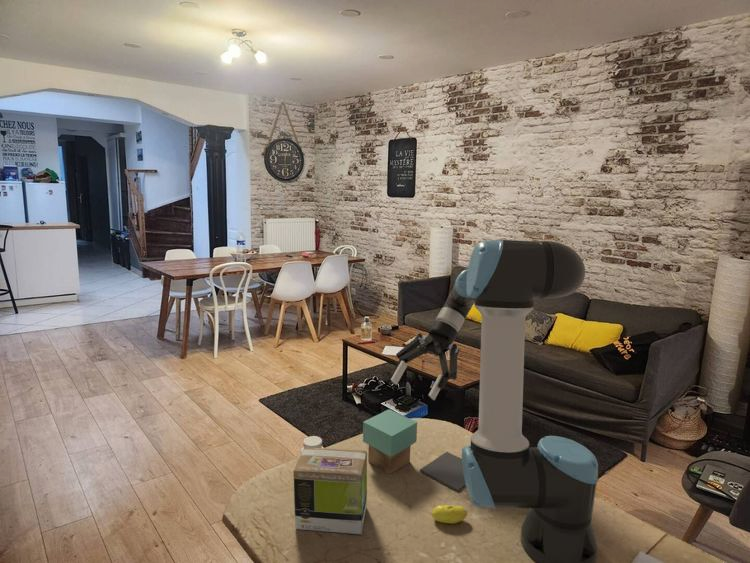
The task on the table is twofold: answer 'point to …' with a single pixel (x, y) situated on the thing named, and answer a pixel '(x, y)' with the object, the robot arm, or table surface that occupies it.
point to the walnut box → (388, 459)
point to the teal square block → (389, 432)
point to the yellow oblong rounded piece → (449, 514)
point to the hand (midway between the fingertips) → (411, 389)
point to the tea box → (330, 490)
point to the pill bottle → (312, 442)
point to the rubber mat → (446, 471)
